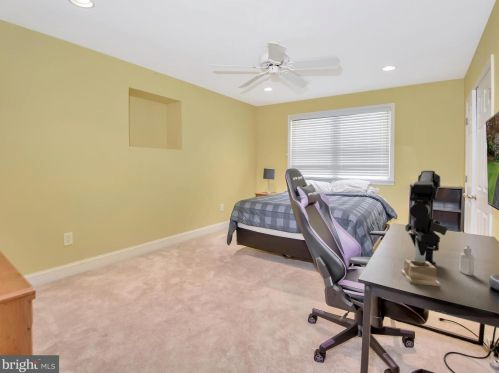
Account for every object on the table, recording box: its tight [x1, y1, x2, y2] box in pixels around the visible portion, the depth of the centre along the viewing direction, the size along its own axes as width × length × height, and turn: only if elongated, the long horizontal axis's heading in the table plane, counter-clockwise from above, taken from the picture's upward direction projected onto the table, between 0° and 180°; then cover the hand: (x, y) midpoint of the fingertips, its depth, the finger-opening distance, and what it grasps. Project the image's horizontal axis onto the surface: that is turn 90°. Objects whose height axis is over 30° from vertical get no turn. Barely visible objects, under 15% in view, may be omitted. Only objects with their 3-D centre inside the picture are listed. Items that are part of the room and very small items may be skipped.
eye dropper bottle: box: [458, 244, 476, 276], centre depth 114 cm, size 4×6×12 cm
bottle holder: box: [400, 259, 441, 287], centre depth 109 cm, size 12×10×6 cm
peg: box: [414, 235, 426, 263], centre depth 109 cm, size 4×4×10 cm
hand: (420, 253), depth 109 cm, fingers closed on peg, 3 cm apart
